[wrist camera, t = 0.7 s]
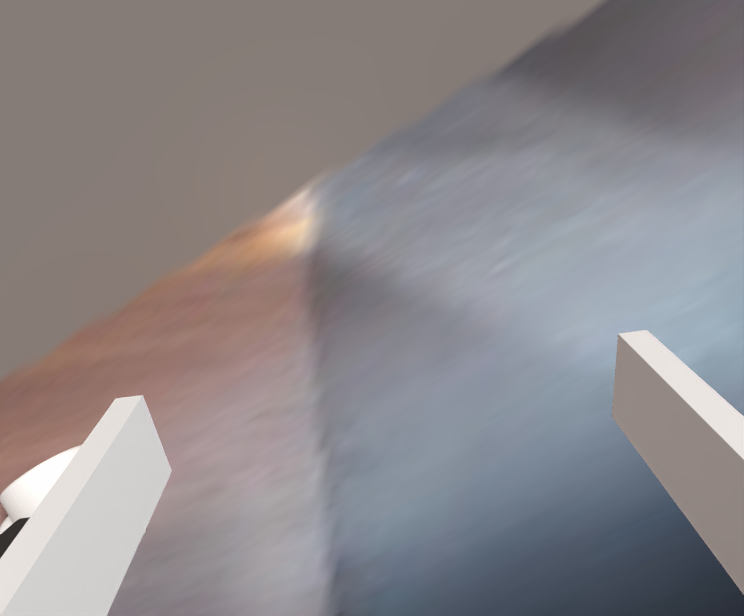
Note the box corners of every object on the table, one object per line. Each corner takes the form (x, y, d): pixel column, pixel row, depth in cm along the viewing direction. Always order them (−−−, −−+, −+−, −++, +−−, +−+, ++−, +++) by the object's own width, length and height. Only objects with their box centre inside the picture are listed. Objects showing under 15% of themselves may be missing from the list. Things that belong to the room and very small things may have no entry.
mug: (106, 437, 51) (50, 452, 44) (162, 522, 50) (114, 552, 42) (12, 511, 52) (-62, 538, 44) (65, 597, 50) (-1, 641, 42)
